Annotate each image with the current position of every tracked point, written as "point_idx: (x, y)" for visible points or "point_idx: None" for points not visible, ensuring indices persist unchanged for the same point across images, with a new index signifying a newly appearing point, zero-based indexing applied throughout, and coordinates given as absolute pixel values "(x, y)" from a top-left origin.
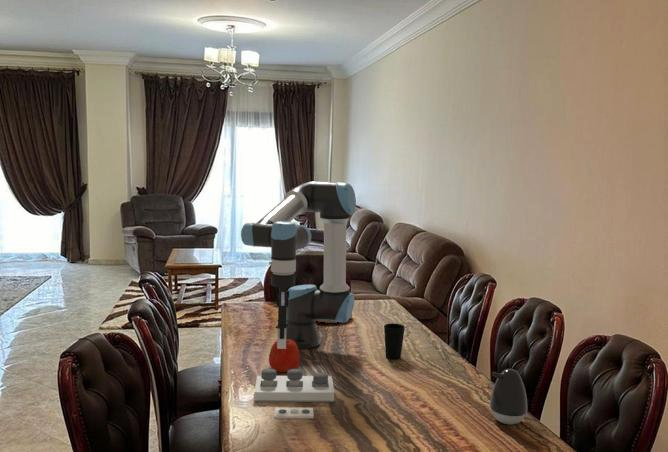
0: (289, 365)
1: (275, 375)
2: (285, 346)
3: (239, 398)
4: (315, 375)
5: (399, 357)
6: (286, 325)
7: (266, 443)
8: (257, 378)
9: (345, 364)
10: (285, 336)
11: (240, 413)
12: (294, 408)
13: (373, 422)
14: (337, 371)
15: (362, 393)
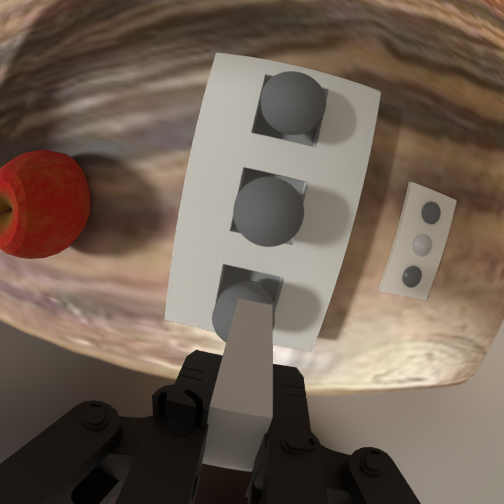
0: (83, 191)
1: (262, 293)
2: (271, 315)
3: None
4: (288, 120)
5: None
6: (380, 468)
7: (495, 324)
8: (190, 324)
9: (77, 23)
10: (269, 361)
11: (365, 369)
12: (402, 238)
13: (482, 74)
14: (114, 40)
15: (312, 5)
